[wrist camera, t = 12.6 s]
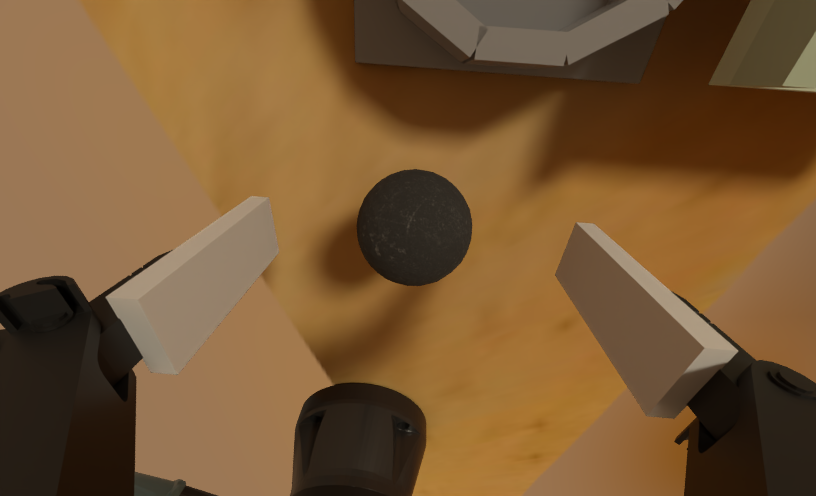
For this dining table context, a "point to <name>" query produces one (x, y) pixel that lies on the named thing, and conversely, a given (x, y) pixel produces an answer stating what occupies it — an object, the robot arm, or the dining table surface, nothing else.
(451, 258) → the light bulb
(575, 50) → the holder
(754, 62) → the pale green square board
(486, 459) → the dining table surface
